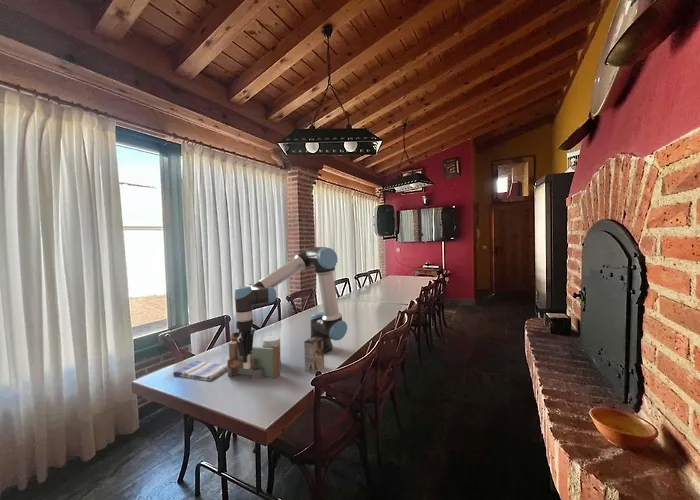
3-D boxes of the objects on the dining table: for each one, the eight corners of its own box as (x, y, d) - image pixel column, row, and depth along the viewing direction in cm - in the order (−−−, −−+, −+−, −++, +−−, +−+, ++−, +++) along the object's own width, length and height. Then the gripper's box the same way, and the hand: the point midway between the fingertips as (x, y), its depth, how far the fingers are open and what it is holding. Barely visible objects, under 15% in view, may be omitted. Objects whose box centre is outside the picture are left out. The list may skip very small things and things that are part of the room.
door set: (280, 375, 154) (279, 344, 153) (274, 381, 147) (273, 349, 147) (233, 371, 159) (232, 341, 158) (226, 376, 152) (225, 345, 152)
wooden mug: (241, 357, 177) (240, 326, 176) (226, 352, 185) (225, 323, 184) (253, 352, 185) (252, 323, 184) (239, 348, 192) (238, 319, 191)
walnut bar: (226, 367, 152) (226, 359, 152) (229, 365, 155) (229, 357, 154) (256, 369, 149) (256, 361, 149) (258, 367, 152) (258, 359, 152)
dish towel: (209, 383, 148) (209, 377, 147) (171, 376, 154) (171, 371, 154) (233, 367, 164) (233, 362, 164) (197, 363, 171) (197, 358, 171)
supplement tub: (274, 369, 161) (274, 342, 160) (259, 367, 163) (258, 340, 163) (283, 362, 170) (283, 336, 169) (269, 360, 173) (268, 334, 172)
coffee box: (314, 364, 166) (314, 335, 166) (324, 367, 163) (324, 337, 162) (304, 371, 158) (304, 340, 158) (314, 373, 155) (314, 343, 154)
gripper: (244, 315, 150) (246, 361, 152) (229, 323, 137) (231, 374, 139) (258, 315, 149) (260, 362, 150) (244, 324, 136) (246, 375, 137)
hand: (246, 368), depth 145 cm, fingers closed
